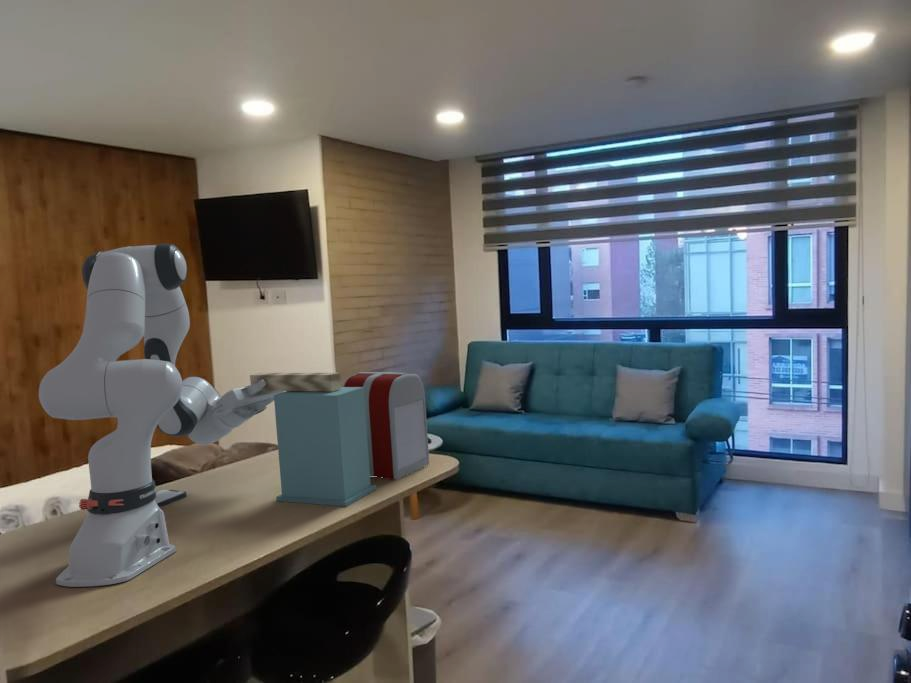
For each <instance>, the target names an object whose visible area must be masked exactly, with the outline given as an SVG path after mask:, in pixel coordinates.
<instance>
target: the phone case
mask: <svg viewBox="0 0 911 683" xmlns="http://www.w3.org/2000/svg"><path fill="white" fill-rule="evenodd" d="M184 498H187V492H186V491H184V490H176V489H167V488H166V489H161V490H159V491H156V498H155V501H156V503H157V505H158V506H159V508H161V507H163V505H164V506H166V505H165V504H167V505H169V504H171V502H172V503H174V501H175V502H177V501H179V500H181V499H184ZM160 506H161V507H160Z"/></svg>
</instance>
